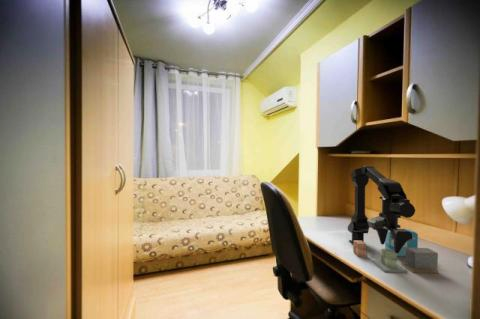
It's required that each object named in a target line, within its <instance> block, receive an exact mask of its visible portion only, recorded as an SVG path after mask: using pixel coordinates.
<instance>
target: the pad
mask: <svg viewBox="0 0 480 319" xmlns="http://www.w3.org/2000/svg"><path fill="white" fill-rule="evenodd" d="M371 263H373V264H374V265H375V266H376V267H378V268H379V269H380V270H381V271H382V272H384V273H404V274H405V273H406V274H407V273H408V269H407V268H405V267H404V266H402V265H400V264H399V263H397V267H386V266H385V265H383V264H382V263H381V259H372V260H371Z"/></svg>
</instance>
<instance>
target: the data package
mask: <svg viewBox="0 0 480 319" xmlns="http://www.w3.org/2000/svg"><path fill="white" fill-rule="evenodd" d="M397 229H401V227H400V228H397ZM405 229H406V230H408V231H410V232H411V233H412V234H413V239H410V240H408V241H407V242H406V243H405V244H404V246H403V247H402V248H401V250H400V251H399V253H397V257H404V258H406V248H419V247H418V245H419V244H418V242H419V238H418V237H419V235H418V233H417V232H415V231H414V230H412V229H410V228H405ZM390 236H392V235H391V231H389V230H388V233H387V237H386V240H385V243H384V249H391V250H393V251H395V249H394V240H393V239H392V238H391V237H390Z"/></svg>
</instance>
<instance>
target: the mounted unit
mask: <svg viewBox="0 0 480 319" xmlns="http://www.w3.org/2000/svg"><path fill="white" fill-rule="evenodd" d="M438 258H439V253H438V252H437V251H435V250H433V249H430V248H428V247H418V248H406V257H405V261H401V263H400V264H401V265H400V266H402V267H403V268H405V269H406V270H408V271H409V272H410V271H411V273H413V274H439V272H440V271H439V269H438V267H439V266H438V265H439V263H438Z"/></svg>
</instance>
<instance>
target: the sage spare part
mask: <svg viewBox="0 0 480 319" xmlns="http://www.w3.org/2000/svg"><path fill="white" fill-rule="evenodd" d="M380 260H381V263H382V264H383V265H385V266H386V267H397V264H398V262H397V261H398V256H397V253H395V251H393V250H391V249H385V248H381V249H380Z"/></svg>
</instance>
